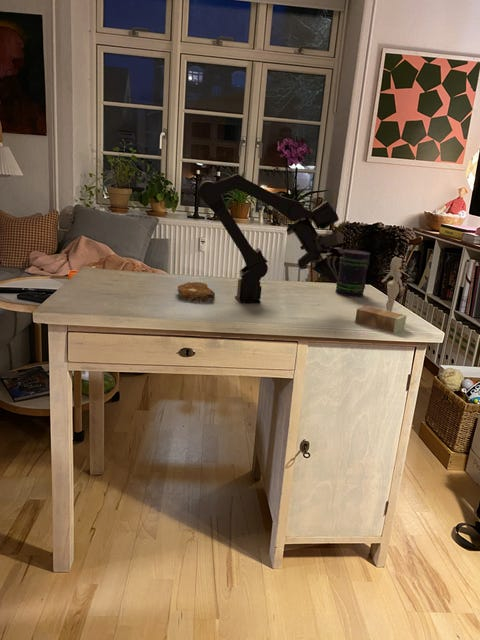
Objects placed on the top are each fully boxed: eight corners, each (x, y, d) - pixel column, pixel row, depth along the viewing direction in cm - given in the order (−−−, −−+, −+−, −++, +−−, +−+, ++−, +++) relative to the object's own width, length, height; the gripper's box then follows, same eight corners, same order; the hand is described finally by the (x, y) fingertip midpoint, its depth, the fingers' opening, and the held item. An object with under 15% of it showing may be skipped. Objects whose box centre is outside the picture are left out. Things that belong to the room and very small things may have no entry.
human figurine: (403, 322, 146) (414, 261, 141) (391, 322, 145) (402, 260, 140) (383, 311, 157) (393, 254, 152) (372, 311, 156) (382, 253, 151)
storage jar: (369, 296, 177) (376, 253, 172) (350, 298, 171) (357, 254, 166) (347, 289, 184) (353, 248, 180) (329, 291, 178) (335, 249, 174)
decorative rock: (173, 291, 160) (180, 306, 147) (173, 279, 159) (180, 292, 145) (208, 290, 163) (218, 304, 149) (209, 278, 162) (219, 291, 148)
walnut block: (357, 309, 141) (398, 319, 134) (365, 305, 145) (406, 315, 139) (354, 322, 142) (396, 333, 135) (363, 319, 147) (403, 329, 140)
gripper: (312, 221, 137) (342, 269, 134) (343, 220, 152) (371, 263, 149) (284, 246, 144) (313, 291, 141) (317, 242, 159) (343, 284, 155)
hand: (336, 282), depth 146 cm, fingers closed
